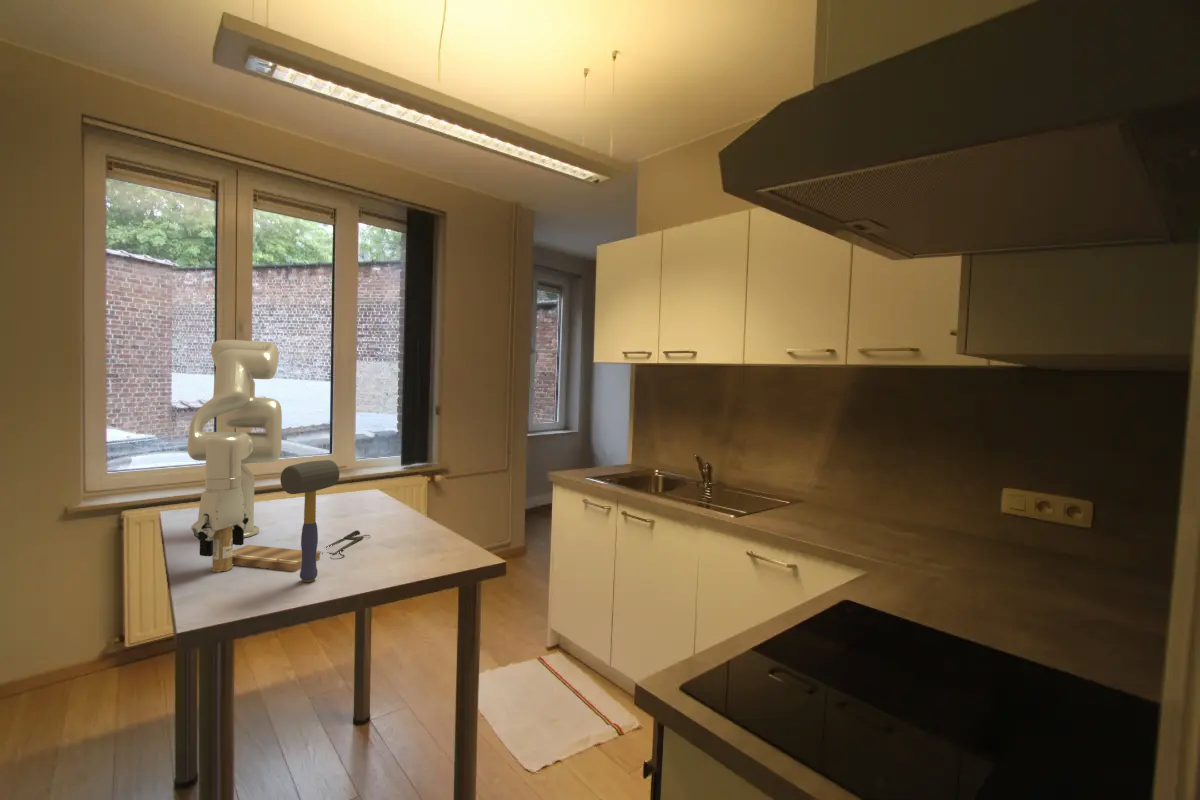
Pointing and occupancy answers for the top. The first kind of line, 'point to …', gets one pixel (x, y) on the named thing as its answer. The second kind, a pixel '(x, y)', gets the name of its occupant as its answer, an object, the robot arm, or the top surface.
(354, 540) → the hacksaw
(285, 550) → the board
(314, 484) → the rubber mallet
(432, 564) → the top surface
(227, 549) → the sprinkles bottle
